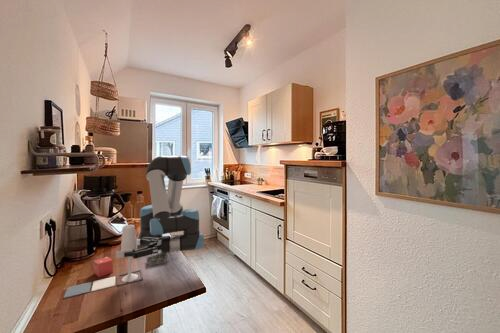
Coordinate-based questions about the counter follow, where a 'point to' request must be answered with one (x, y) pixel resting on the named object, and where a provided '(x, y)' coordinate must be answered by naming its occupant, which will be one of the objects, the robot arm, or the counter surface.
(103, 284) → the game track
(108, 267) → the red die
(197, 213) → the robot arm
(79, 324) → the counter surface
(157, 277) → the counter surface
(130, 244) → the champagne flute
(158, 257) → the egg carton
